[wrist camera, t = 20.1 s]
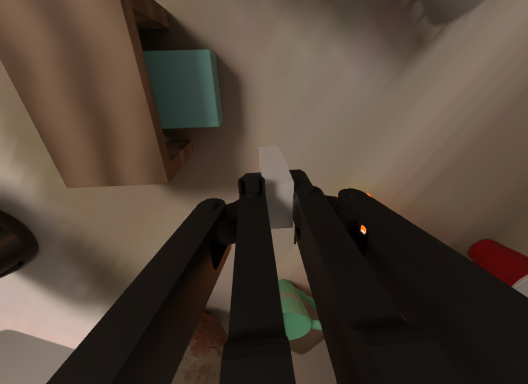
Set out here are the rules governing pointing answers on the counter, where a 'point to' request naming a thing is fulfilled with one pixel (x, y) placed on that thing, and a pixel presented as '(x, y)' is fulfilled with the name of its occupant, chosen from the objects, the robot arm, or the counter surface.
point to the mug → (296, 310)
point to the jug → (203, 354)
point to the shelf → (90, 88)
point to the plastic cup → (502, 263)
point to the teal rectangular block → (185, 87)
